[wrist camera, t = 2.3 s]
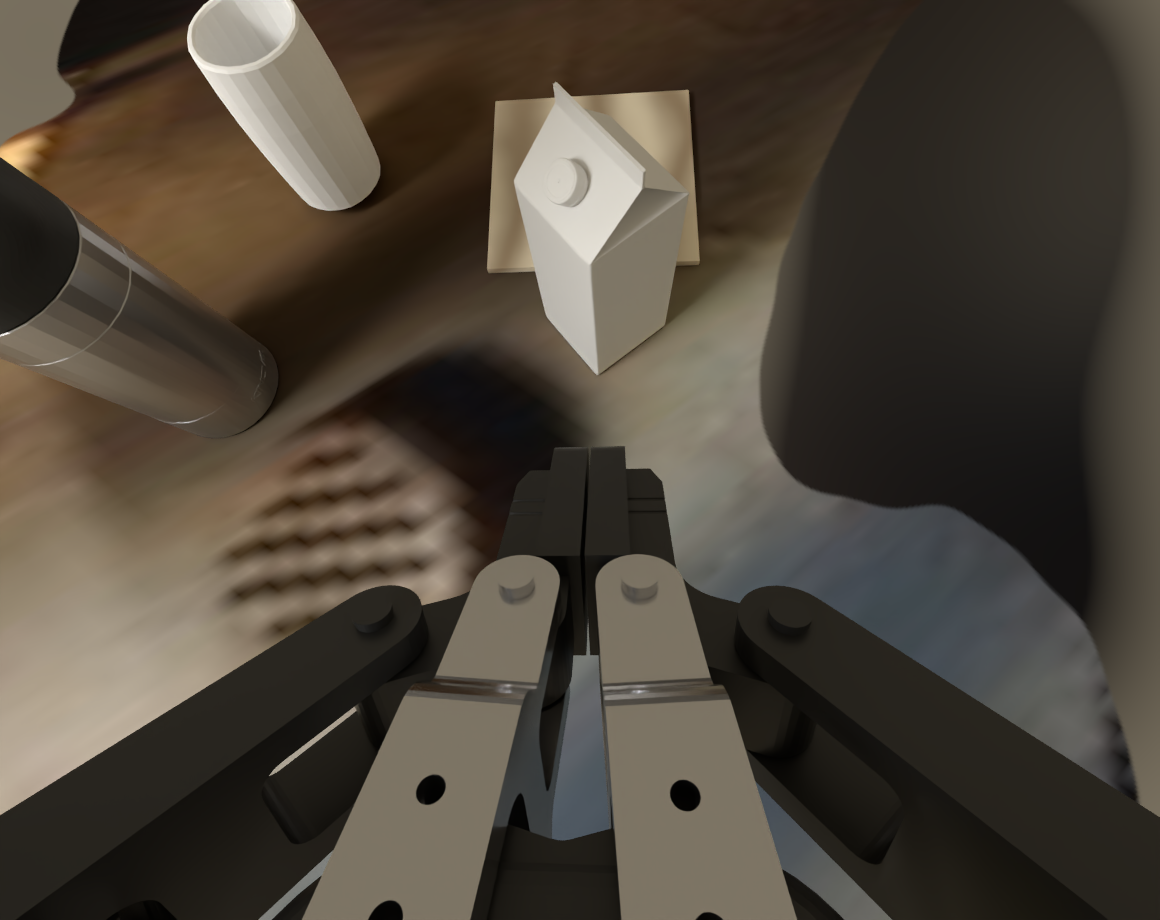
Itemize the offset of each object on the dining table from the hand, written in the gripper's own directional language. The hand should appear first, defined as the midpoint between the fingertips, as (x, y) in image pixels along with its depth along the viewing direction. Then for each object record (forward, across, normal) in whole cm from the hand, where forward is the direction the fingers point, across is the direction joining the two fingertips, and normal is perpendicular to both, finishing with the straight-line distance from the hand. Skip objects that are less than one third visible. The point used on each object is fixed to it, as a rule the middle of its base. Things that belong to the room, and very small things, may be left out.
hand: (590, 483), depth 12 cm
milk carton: (+34, 0, +6) cm, 35 cm away
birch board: (+44, +1, -4) cm, 44 cm away
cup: (+45, +24, -4) cm, 51 cm away
